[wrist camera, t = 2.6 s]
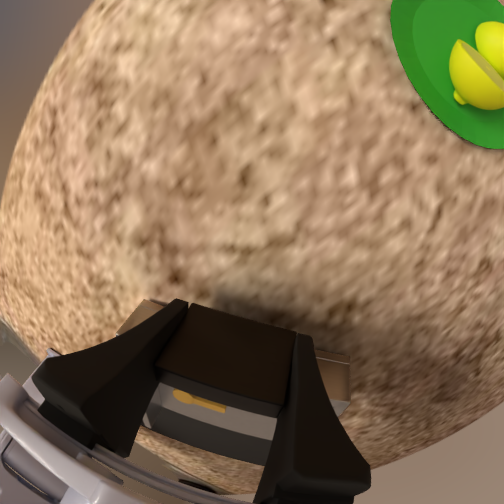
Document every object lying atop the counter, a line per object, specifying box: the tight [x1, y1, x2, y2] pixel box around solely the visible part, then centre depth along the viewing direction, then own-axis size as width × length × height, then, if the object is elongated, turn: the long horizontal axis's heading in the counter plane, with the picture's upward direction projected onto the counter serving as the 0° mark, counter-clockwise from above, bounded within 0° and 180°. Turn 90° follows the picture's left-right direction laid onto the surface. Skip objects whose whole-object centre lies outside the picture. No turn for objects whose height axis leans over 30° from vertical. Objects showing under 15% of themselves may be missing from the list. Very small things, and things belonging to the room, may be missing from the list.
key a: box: [172, 388, 227, 413], centre depth 18 cm, size 4×2×1 cm, turn 80°
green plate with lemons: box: [390, 0, 504, 149], centre depth 5 cm, size 8×8×3 cm
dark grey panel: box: [141, 407, 272, 466], centre depth 23 cm, size 20×9×1 cm, turn 80°
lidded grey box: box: [116, 299, 351, 440], centre depth 15 cm, size 14×12×5 cm
